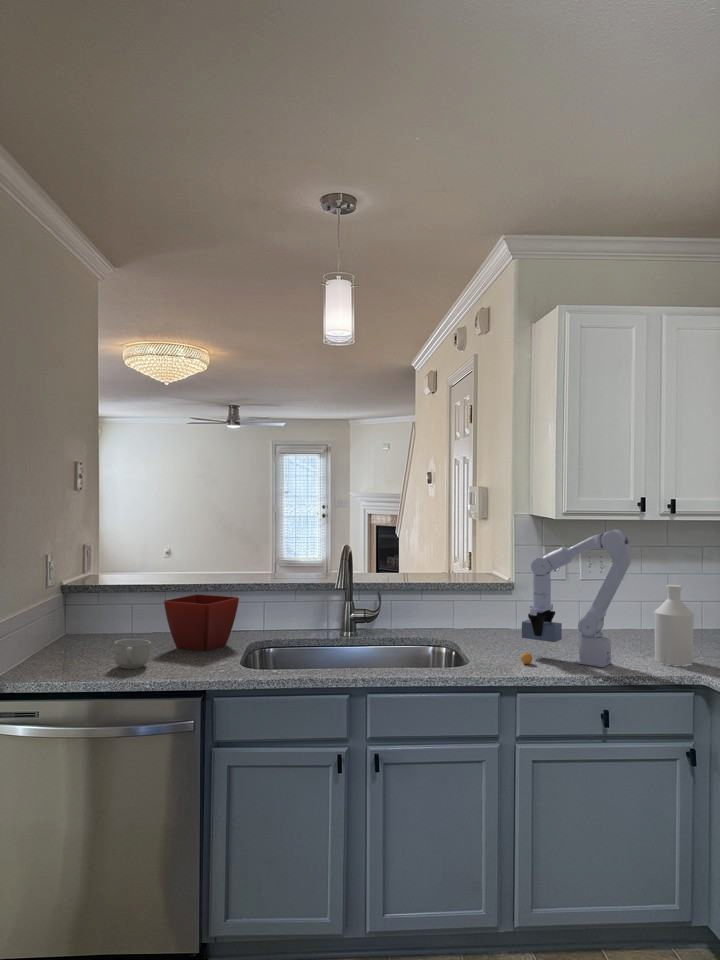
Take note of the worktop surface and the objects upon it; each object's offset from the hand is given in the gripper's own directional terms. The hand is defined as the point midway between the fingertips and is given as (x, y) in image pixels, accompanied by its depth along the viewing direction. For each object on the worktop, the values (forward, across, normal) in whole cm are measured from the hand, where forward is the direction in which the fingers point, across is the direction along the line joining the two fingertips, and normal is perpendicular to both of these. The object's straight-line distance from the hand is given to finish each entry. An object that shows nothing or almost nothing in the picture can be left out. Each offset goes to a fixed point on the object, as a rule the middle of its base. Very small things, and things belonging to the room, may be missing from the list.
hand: (541, 634), depth 250 cm
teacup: (+8, +93, -95) cm, 133 cm away
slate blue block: (+2, 0, 0) cm, 2 cm away
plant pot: (+8, +59, -101) cm, 117 cm away
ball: (+6, +12, 0) cm, 13 cm away
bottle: (+8, -20, +37) cm, 43 cm away
